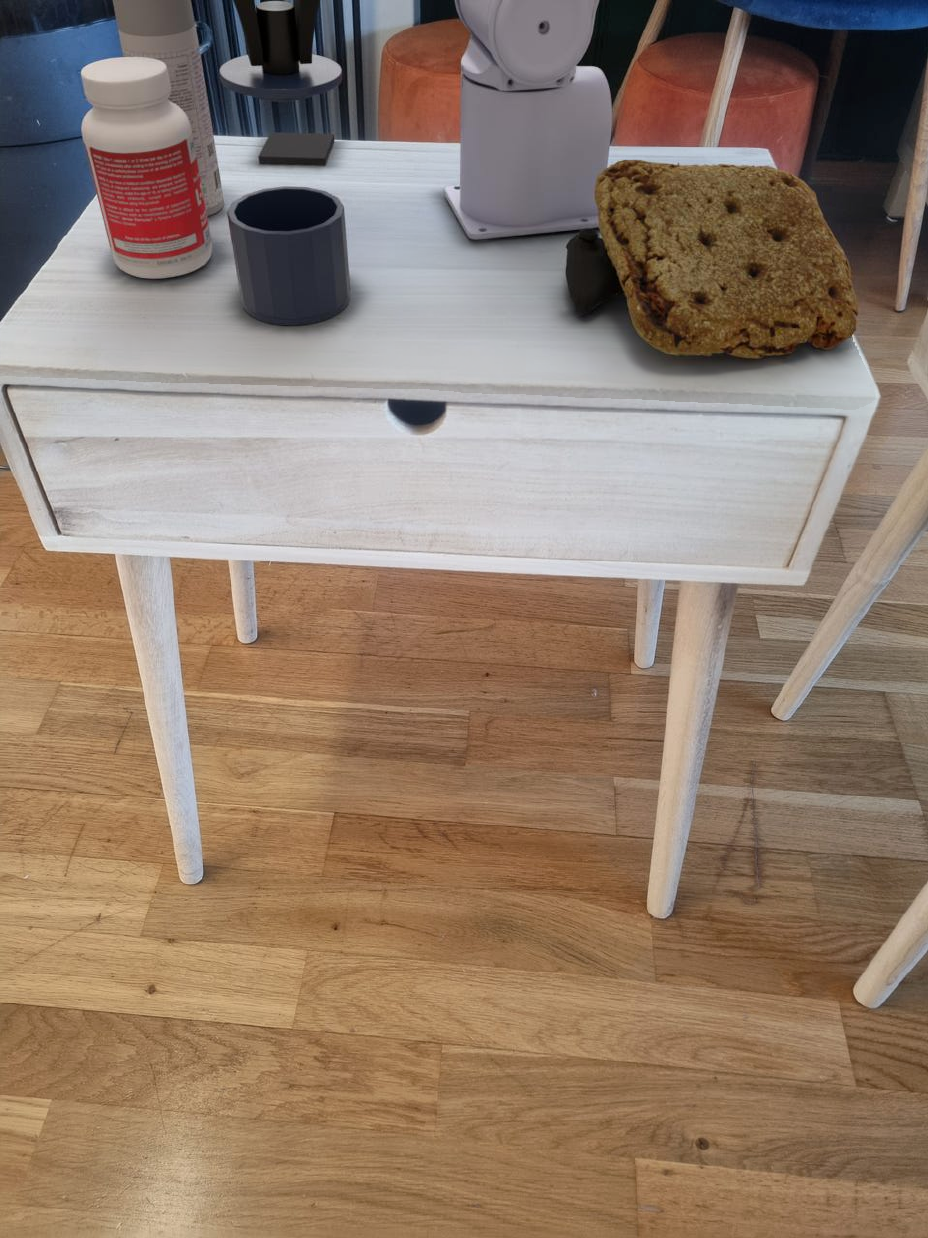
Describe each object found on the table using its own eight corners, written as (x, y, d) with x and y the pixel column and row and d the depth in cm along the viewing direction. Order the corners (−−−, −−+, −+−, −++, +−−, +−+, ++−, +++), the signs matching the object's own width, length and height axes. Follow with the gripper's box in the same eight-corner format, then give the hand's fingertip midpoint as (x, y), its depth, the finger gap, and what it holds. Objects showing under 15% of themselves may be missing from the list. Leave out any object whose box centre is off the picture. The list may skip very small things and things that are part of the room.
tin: (356, 275, 61) (349, 187, 58) (342, 327, 57) (334, 235, 53) (254, 272, 62) (241, 184, 58) (232, 323, 57) (216, 231, 53)
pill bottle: (229, 266, 62) (197, 73, 54) (135, 291, 60) (87, 93, 52) (191, 230, 66) (155, 44, 58) (100, 252, 63) (51, 61, 55)
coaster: (334, 140, 77) (334, 133, 77) (325, 165, 74) (324, 158, 73) (271, 138, 77) (270, 131, 77) (259, 163, 74) (258, 156, 74)
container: (185, 186, 71) (139, -64, 60) (238, 200, 69) (199, -55, 58) (141, 210, 68) (83, -49, 57) (194, 225, 66) (145, -38, 56)
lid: (349, 73, 62) (345, -8, 59) (334, 112, 57) (330, 26, 54) (234, 68, 62) (225, -14, 59) (209, 106, 57) (197, 19, 54)
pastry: (896, 272, 60) (926, 235, 58) (772, 443, 53) (800, 410, 50) (667, 115, 62) (686, 72, 59) (514, 259, 54) (528, 217, 52)
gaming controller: (577, 314, 57) (570, 222, 56) (554, 322, 61) (547, 237, 60) (720, 299, 58) (716, 209, 57) (687, 308, 63) (682, 225, 62)
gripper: (382, -251, 53) (387, 35, 62) (99, -257, 50) (151, 44, 59) (410, -238, 48) (411, 70, 58) (99, -244, 45) (155, 81, 55)
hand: (280, 59), depth 58 cm, fingers closed on lid, 2 cm apart
